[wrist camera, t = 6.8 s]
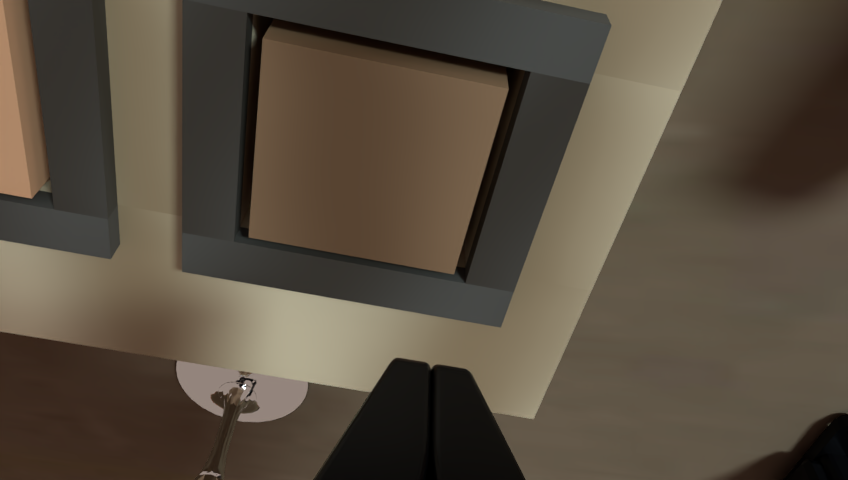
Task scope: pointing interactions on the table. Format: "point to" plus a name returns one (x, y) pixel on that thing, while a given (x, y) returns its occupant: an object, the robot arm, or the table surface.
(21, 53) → the peg
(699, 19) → the board
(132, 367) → the table surface
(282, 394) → the wineglass
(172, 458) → the table surface
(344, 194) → the peg
